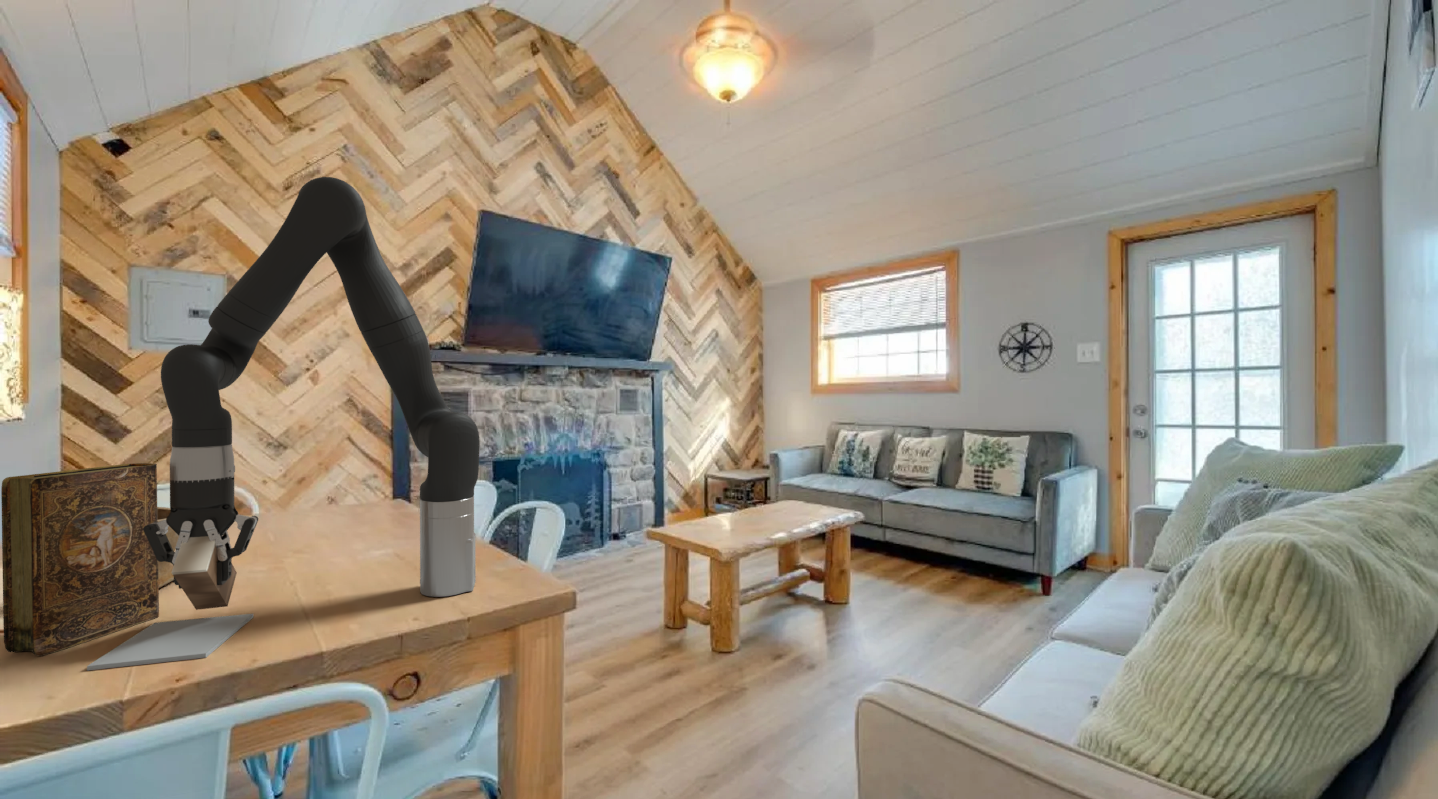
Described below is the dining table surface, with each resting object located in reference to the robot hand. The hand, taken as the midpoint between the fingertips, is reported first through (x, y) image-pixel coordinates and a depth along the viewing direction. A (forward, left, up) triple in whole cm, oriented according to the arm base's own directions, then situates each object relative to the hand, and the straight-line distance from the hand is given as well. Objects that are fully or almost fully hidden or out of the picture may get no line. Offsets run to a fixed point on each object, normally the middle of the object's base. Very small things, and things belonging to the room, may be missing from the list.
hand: (203, 584), depth 92 cm
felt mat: (+1, +4, -7) cm, 8 cm away
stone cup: (+19, -25, -7) cm, 33 cm away
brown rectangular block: (+1, -5, -3) cm, 6 cm away
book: (+15, -3, -7) cm, 17 cm away
